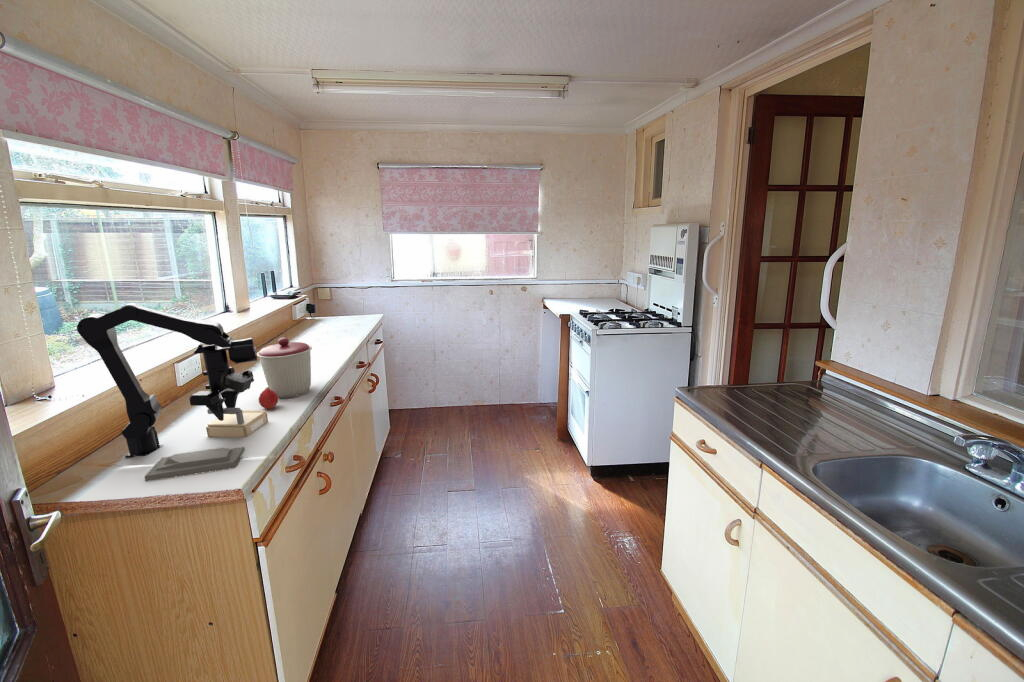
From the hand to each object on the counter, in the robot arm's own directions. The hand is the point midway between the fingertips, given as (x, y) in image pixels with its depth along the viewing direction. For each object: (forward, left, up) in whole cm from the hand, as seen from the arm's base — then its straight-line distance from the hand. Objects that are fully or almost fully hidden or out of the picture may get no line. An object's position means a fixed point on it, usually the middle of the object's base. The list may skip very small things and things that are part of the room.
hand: (226, 417), depth 141 cm
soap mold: (-17, -3, -7) cm, 19 cm away
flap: (+4, 0, -2) cm, 5 cm away
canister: (+36, +1, -6) cm, 37 cm away
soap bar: (+4, +1, -5) cm, 7 cm away
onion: (+21, 0, -6) cm, 22 cm away
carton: (+4, 0, -6) cm, 7 cm away
